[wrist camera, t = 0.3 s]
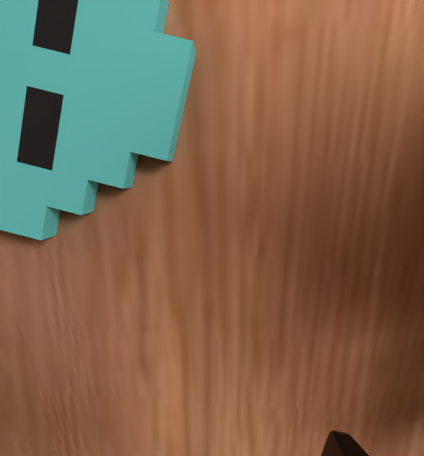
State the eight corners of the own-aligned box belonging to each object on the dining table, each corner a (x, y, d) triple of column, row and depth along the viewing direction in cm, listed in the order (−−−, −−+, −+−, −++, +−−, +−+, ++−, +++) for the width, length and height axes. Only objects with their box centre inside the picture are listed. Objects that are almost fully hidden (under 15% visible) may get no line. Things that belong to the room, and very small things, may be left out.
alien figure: (-124, 186, 23) (152, 257, 23) (-161, 188, 21) (143, 266, 21) (-105, -144, 20) (223, -66, 19) (-147, -184, 17) (222, -97, 17)
